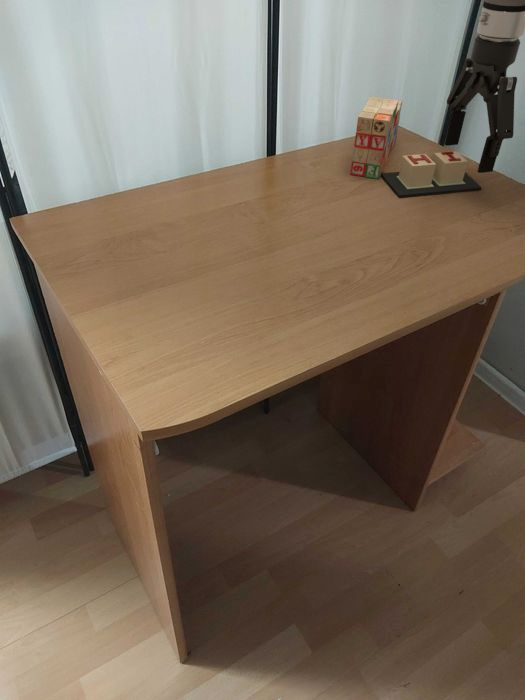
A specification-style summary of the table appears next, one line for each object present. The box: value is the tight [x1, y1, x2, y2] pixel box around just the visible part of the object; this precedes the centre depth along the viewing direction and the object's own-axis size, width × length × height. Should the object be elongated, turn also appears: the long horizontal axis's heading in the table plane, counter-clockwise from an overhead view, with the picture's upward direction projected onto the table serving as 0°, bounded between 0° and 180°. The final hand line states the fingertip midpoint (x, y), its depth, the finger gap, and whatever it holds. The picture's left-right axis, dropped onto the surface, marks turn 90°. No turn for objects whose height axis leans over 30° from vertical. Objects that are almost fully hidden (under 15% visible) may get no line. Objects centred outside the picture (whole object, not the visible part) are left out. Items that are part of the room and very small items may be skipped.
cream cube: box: [399, 153, 436, 187], centre depth 109 cm, size 5×5×5 cm
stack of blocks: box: [349, 96, 403, 180], centre depth 116 cm, size 21×6×12 cm, turn 160°
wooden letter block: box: [432, 150, 469, 184], centre depth 110 cm, size 5×5×5 cm
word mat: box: [380, 171, 483, 199], centre depth 111 cm, size 10×18×1 cm, turn 102°
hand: (467, 157), depth 107 cm, fingers open, 13 cm apart
